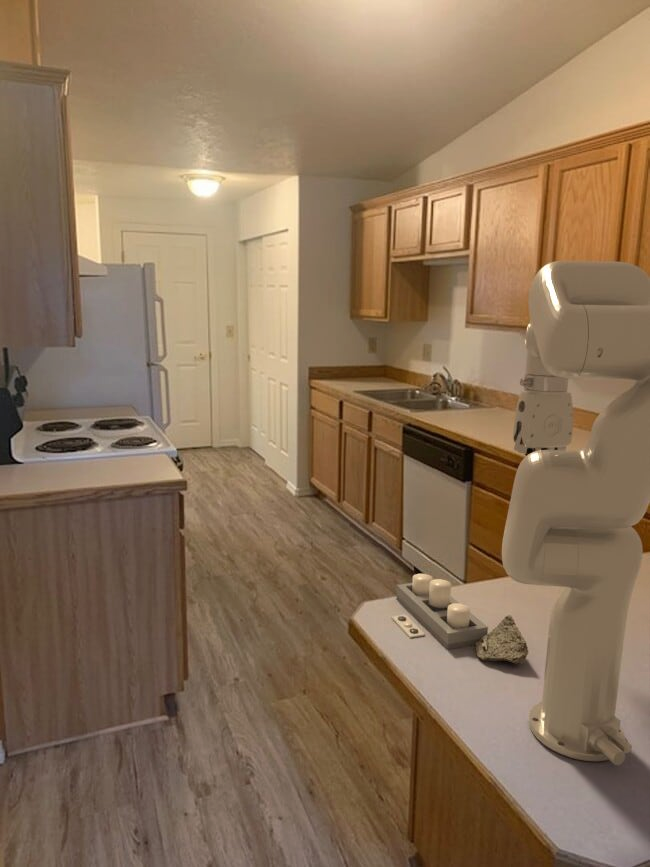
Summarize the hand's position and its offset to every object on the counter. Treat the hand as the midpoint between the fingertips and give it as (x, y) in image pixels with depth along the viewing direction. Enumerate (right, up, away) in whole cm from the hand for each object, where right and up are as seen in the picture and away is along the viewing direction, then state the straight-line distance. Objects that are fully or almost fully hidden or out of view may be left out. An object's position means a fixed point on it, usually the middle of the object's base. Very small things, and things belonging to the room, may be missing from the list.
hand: (537, 482), depth 121 cm
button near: (-16, -26, -3) cm, 31 cm away
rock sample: (-9, -30, -10) cm, 33 cm away
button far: (-20, -24, +10) cm, 33 cm away
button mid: (-18, -23, +3) cm, 30 cm away
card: (-24, -27, 0) cm, 36 cm away
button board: (-18, -27, +3) cm, 32 cm away
